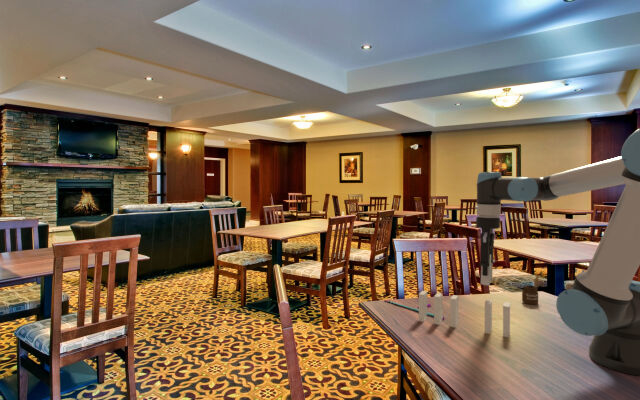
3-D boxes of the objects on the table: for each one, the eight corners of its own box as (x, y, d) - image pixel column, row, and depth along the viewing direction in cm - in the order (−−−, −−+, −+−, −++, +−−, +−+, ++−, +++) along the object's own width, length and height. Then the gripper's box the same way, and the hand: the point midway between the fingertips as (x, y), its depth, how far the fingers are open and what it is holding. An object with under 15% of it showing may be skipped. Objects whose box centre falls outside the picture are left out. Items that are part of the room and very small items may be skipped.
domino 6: (509, 332, 118) (510, 302, 118) (509, 337, 114) (509, 306, 114) (503, 331, 119) (504, 301, 119) (503, 336, 115) (503, 306, 115)
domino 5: (491, 329, 121) (491, 300, 121) (490, 334, 117) (490, 304, 117) (486, 328, 122) (486, 299, 122) (484, 333, 118) (484, 303, 118)
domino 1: (427, 317, 132) (427, 291, 132) (423, 322, 128) (423, 294, 128) (422, 316, 133) (422, 290, 133) (418, 321, 129) (418, 294, 129)
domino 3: (458, 323, 127) (458, 295, 127) (455, 327, 122) (455, 299, 122) (452, 322, 128) (452, 294, 128) (450, 326, 123) (450, 298, 123)
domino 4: (490, 282, 125) (491, 254, 124) (488, 285, 121) (489, 256, 120) (485, 281, 126) (485, 253, 125) (482, 284, 122) (483, 256, 121)
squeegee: (457, 311, 136) (442, 317, 130) (457, 315, 136) (442, 321, 130) (399, 295, 159) (384, 299, 153) (399, 299, 159) (384, 303, 153)
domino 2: (442, 320, 130) (442, 293, 129) (439, 324, 125) (439, 296, 125) (437, 319, 131) (437, 292, 130) (434, 323, 126) (434, 296, 126)
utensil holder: (519, 300, 153) (519, 273, 152) (533, 300, 152) (533, 273, 152) (527, 305, 147) (527, 276, 146) (542, 305, 147) (542, 276, 146)
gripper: (481, 214, 132) (479, 275, 133) (471, 217, 117) (469, 287, 118) (503, 215, 128) (501, 278, 129) (496, 219, 113) (494, 290, 114)
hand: (486, 282), depth 123 cm, fingers closed on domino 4, 5 cm apart
